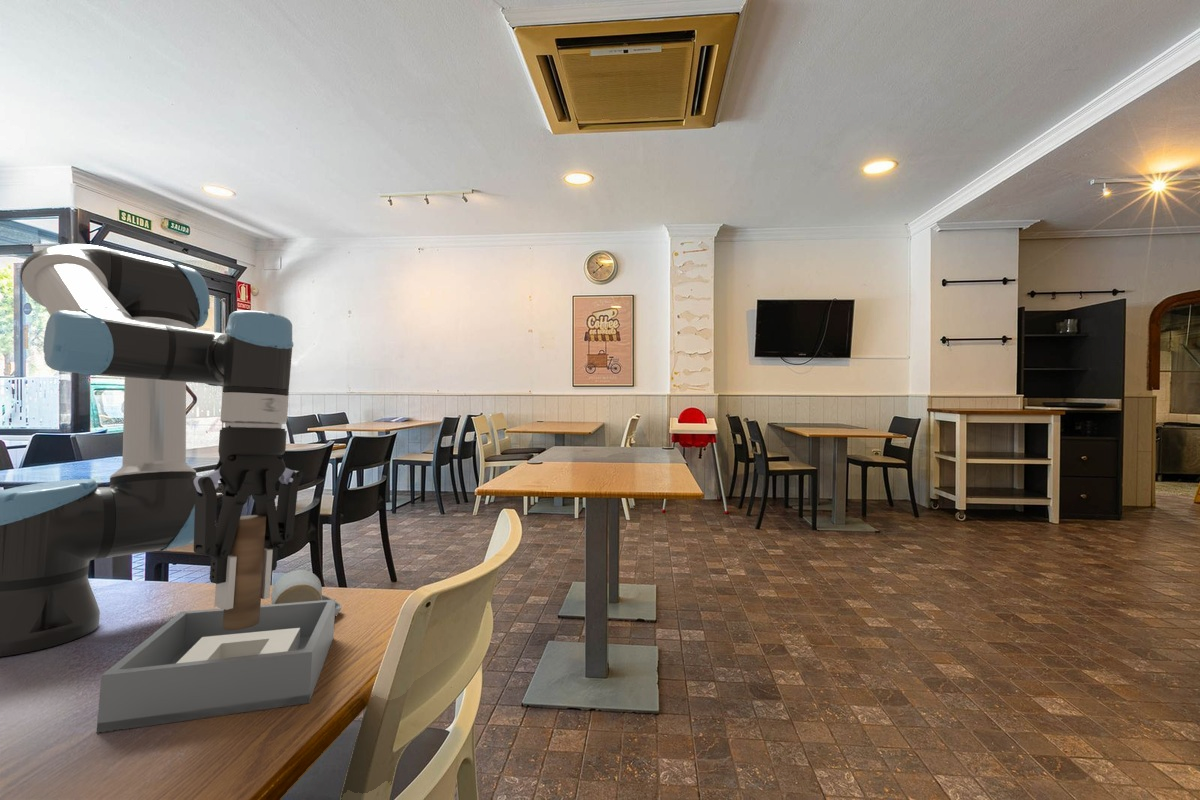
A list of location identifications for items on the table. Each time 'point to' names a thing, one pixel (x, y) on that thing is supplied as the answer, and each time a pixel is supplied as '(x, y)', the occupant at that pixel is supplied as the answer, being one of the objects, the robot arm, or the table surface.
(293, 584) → the ceramic mug
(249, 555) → the walnut peg
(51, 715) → the table surface
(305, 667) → the grey box
